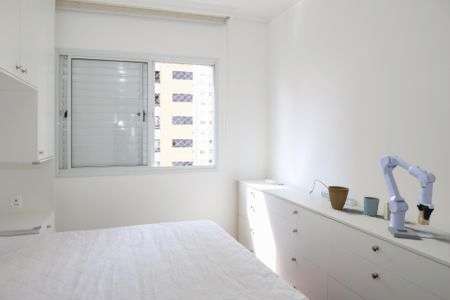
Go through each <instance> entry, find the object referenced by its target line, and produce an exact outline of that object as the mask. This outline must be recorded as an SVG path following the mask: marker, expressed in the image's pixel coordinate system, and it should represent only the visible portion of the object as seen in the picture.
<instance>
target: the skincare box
mask: <svg viewBox="0 0 450 300" xmlns="http://www.w3.org/2000/svg"><path fill="white" fill-rule="evenodd" d="M388 201H389V200H384V205H383V219H384V220H386V221H390V215H391V213H392V212H391V211H390V209H389V202H388Z"/></svg>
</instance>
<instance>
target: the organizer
mask: <svg viewBox="0 0 450 300" xmlns="http://www.w3.org/2000/svg"><path fill="white" fill-rule="evenodd" d="M387 231H388V232H389V233H390V234H391V235H392V236H393V238H401V239H410V240H411V239H412V240H420V237H419V235H418V234H416V233H415V232H416V231H414V230H413V229H412V228H408V227H405V228H399V227H390V226H387Z"/></svg>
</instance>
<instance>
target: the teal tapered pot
mask: <svg viewBox="0 0 450 300" xmlns="http://www.w3.org/2000/svg"><path fill="white" fill-rule="evenodd" d="M379 204H380V198H379V197H376V196H375V197H373V196H363V215H364V216H366V215H367V217H377V216H378V211H379Z"/></svg>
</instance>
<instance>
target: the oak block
mask: <svg viewBox="0 0 450 300" xmlns="http://www.w3.org/2000/svg"><path fill="white" fill-rule="evenodd" d="M417 215H418V216H417V223H418V224H419V225H422V226H429V225H430V219H431V217H430V218H429V220H424V212H423V211H419V210H418V213H417Z"/></svg>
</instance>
